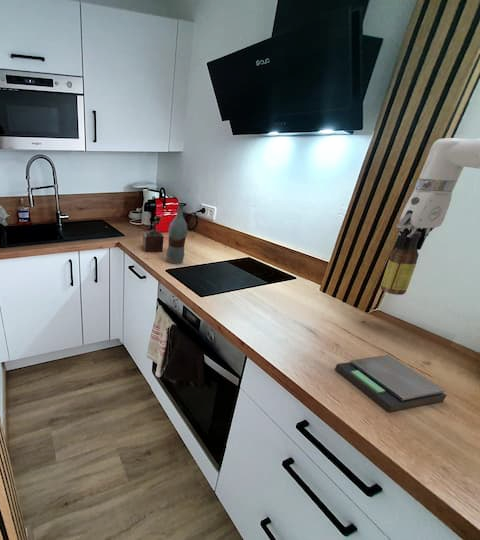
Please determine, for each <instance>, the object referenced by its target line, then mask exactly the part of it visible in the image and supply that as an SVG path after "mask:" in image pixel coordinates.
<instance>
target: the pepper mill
mask: <svg viewBox="0 0 480 540" xmlns="http://www.w3.org/2000/svg"><path fill="white" fill-rule="evenodd" d="M154 220H155V221H152V223H151V226H152V229H151V230H148V231H143V232H142V249H143V250H144V252H145V253H163V252H164V250H163V249H164V238H165V237H164V235H163V234H162V231H160V230H156V229H155V228H156V227H155V226H156V225H160V224H161V222H160V221H161V220H162V217H161V216H160V215H155V216H154Z"/></svg>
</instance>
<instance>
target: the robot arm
mask: <svg viewBox="0 0 480 540" xmlns="http://www.w3.org/2000/svg"><path fill="white" fill-rule="evenodd" d="M464 168H471V169H478V170H479V169H480V137H478V138H468V137H448V138H447V137H445V138H439V139H437V140H435V141H434V142H433V143H432V145H431V147H430V150H429V152H428V154H427V157H426V160H425V162H424V164H423V167H422V170H421V172H420V175H419V177H418V179H417V181H416V184H415V187H414V189H413V192H412V193H411V195H410V197H409V198H408V200H407V202H406V204H405V206H404V208H403V210H402V213H401V215H400V217H399V222H398V223H397V224H396V228H397V230H398V232H399V233H398V235H399V236H398V238H397V242H396V244H395V247H394V248H398V249H402V250H408V249H409V246H410V244H411V242H412V240H413V238H412V235H413V234H414V232H415V231H418V232H421V233H422V234H421V237H420V238H419V240H418V243H417V251H419V250H421V249H422V247H423V245H424V243H425V240H426V238H428V236H429V235H430V233H431V231H433V230H434V229H435V228H439V227H441V226H442V224H443V222H444V220H445V218H446V216H447V213H448V211H449V207H450V204H451V201H452V197H453V191H454V189H455V187H456V185H457V182H458V181H459V178H460V176H461V173H462V171H463V170H464ZM409 230H410V231H409Z"/></svg>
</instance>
